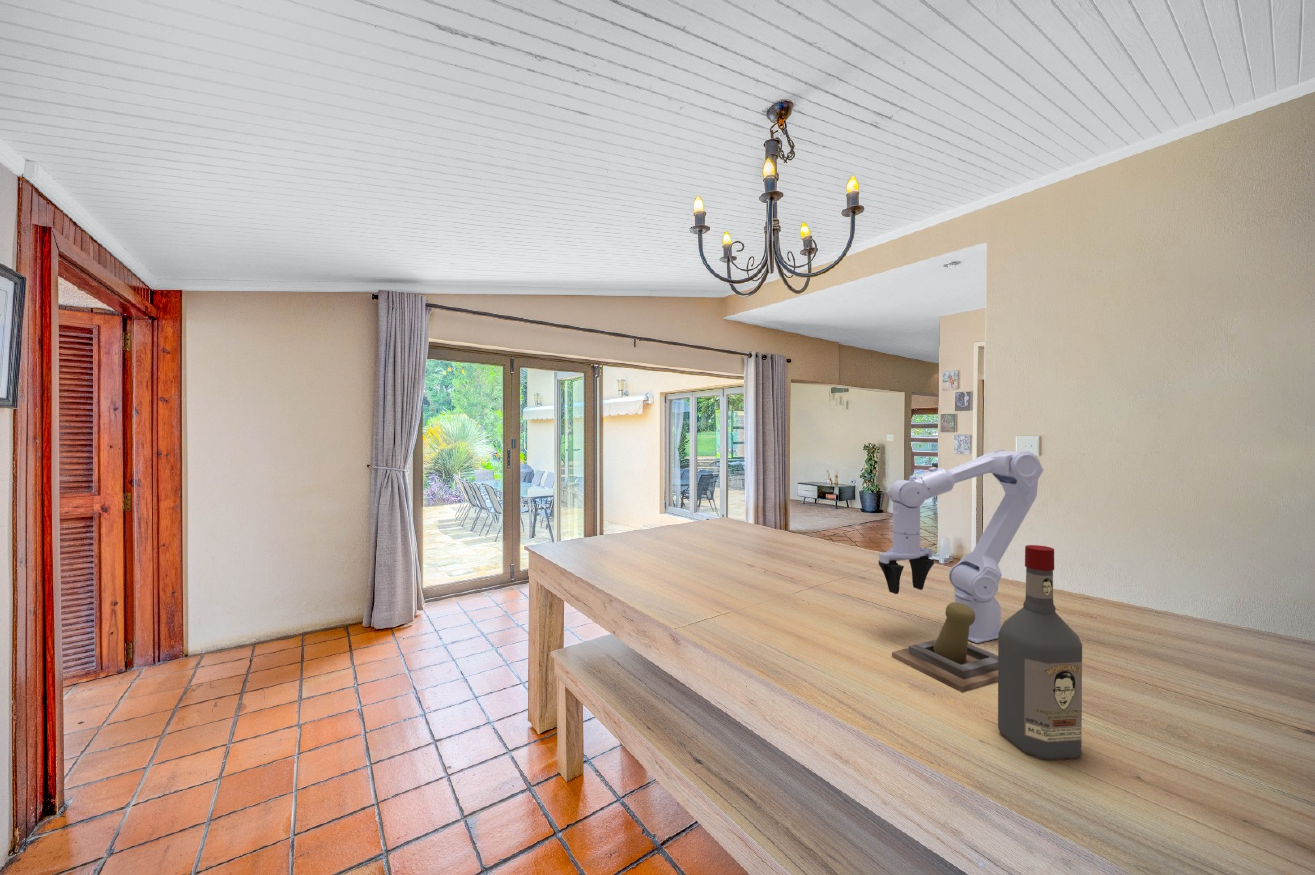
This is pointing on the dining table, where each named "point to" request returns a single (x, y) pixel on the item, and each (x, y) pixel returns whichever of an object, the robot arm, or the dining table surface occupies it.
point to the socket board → (945, 674)
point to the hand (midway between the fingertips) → (905, 590)
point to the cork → (955, 632)
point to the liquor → (1040, 670)
